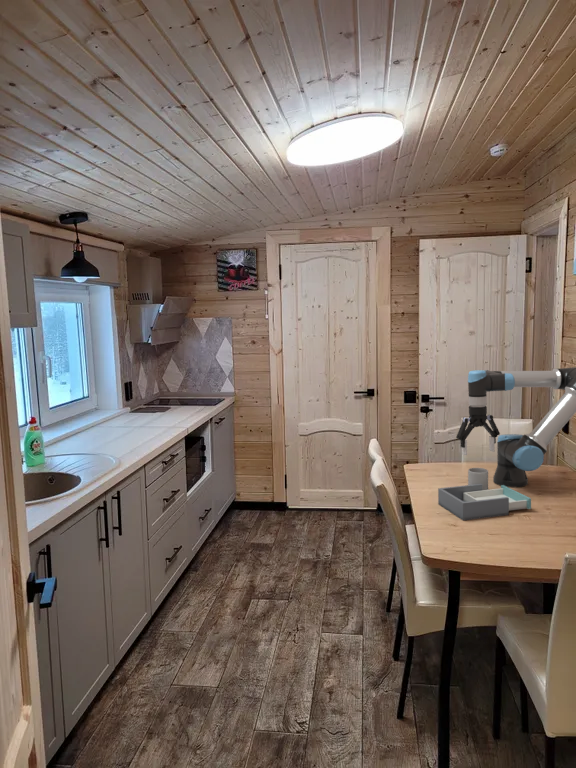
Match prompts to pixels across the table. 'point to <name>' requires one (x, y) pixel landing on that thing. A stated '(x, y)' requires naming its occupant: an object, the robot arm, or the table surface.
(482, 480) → the mug
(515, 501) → the tray
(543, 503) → the table surface
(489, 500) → the dock
